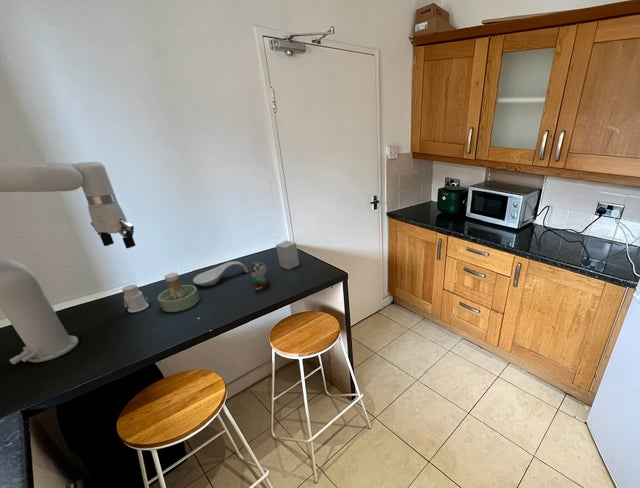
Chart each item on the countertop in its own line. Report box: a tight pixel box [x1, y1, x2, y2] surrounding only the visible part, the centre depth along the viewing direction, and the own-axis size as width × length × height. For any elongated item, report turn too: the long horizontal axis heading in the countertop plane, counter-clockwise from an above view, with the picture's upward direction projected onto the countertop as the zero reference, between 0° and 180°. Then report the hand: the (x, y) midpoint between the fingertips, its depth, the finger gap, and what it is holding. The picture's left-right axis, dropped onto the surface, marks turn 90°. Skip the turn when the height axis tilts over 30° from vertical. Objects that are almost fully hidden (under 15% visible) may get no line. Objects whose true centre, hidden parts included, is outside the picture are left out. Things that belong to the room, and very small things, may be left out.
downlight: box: [122, 284, 150, 313], centre depth 128 cm, size 8×7×10 cm
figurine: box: [250, 261, 268, 292], centre depth 145 cm, size 12×6×10 cm, turn 22°
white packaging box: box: [275, 240, 300, 270], centre depth 164 cm, size 7×7×13 cm
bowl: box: [157, 284, 201, 313], centre depth 132 cm, size 14×14×6 cm
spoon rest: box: [192, 261, 249, 287], centre depth 151 cm, size 24×12×7 cm, turn 135°
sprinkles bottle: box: [164, 272, 185, 300], centre depth 130 cm, size 5×5×13 cm
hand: (120, 245), depth 115 cm, fingers open, 9 cm apart
